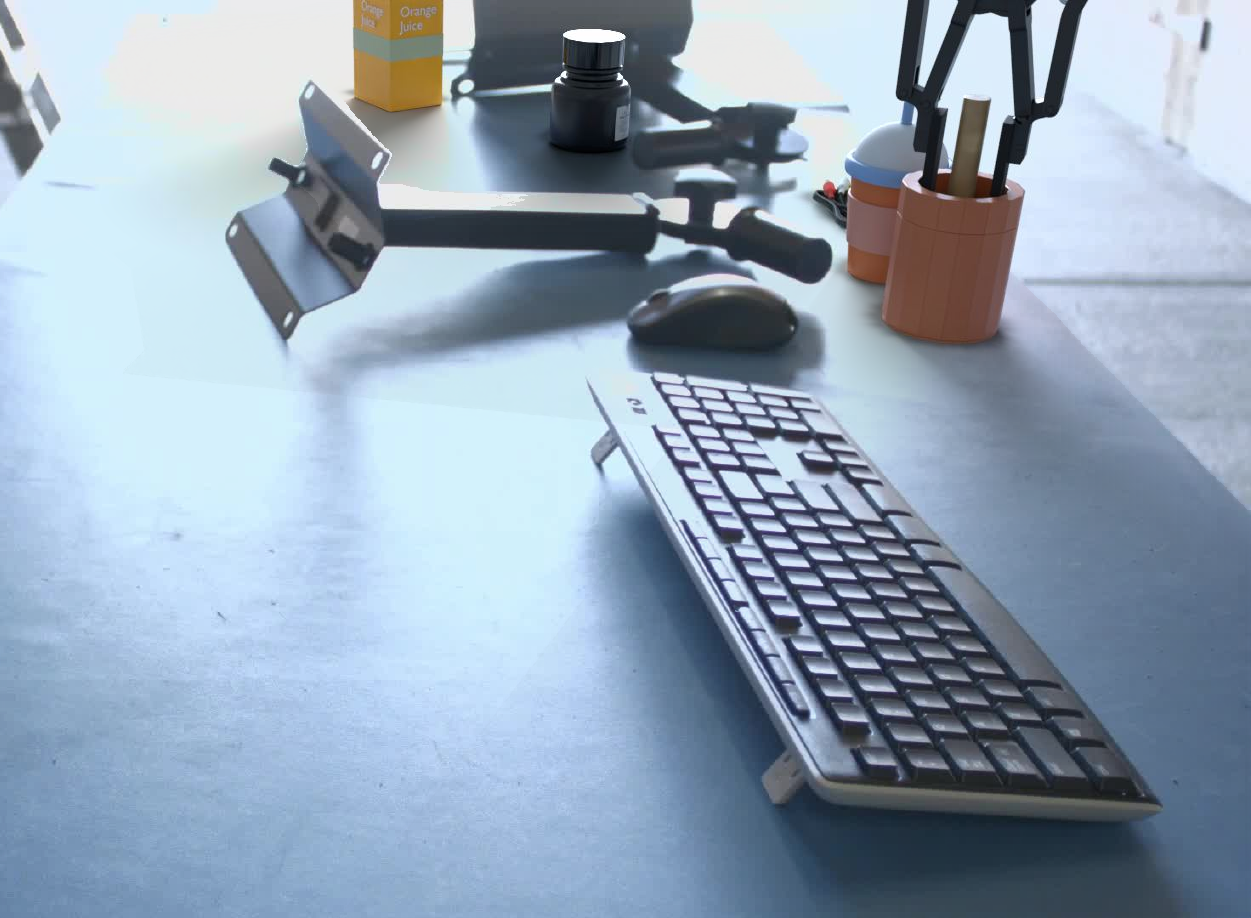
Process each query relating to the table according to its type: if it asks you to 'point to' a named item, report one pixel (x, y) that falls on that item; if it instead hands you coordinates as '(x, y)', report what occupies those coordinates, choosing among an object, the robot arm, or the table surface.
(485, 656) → the table surface
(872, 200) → the cup with straw
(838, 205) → the composite cable
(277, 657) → the table surface
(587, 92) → the ink bottle
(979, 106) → the brass-colored tamper
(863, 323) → the table surface
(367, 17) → the orange juice
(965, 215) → the jar
